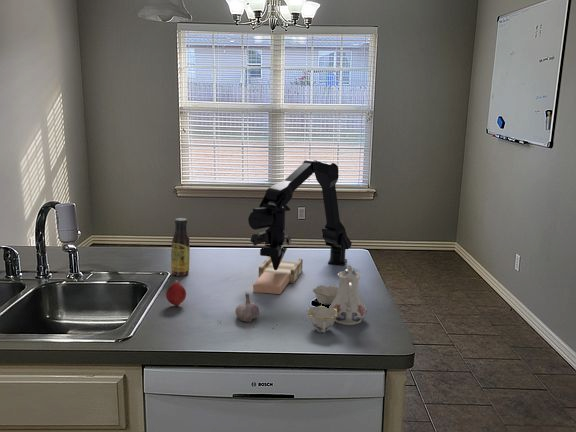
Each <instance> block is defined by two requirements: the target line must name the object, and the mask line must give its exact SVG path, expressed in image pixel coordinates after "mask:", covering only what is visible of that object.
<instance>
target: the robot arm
mask: <svg viewBox="0 0 576 432" xmlns="http://www.w3.org/2000/svg"><path fill="white" fill-rule="evenodd" d="M338 166H339V165H337V164H336V163H334V162H328V161H318V160H316V159H308V158H307V159H305V160H304V161H303V162H302V164H300V166H299V167H297V168H296V169H295V170H294V171H293V172H292V173H290V175H288V176H287V177H286V178H284V180H283V181H281V182H278V183H275V184H273V185H271V186H270V187H268V188H267V189H266V191H265V194H264V196H263V198H262V200H261V202H260V203H259V205H258V207H255V208H254V207H253V208H252V212H250V213H249V216H248V218H247V219H248V220H247V221H248V225H249V226H250V228H251V229H253V230H260V229H265V230H264V231H261V232H256V233H253V234H252V235H251V236H250V243H252V246H254V247H255V246H257V245H259V244H263V243H264V244H265V245H263V247H261V248H260V249H259V256H262V257H269V256H270V257H271V261H272V264H273V268H274V270H277V269H278V267H279V265H280V263H281V261H283V258H284V255H285V254H286V252H287V250H288V248H286V247H284V245H285V244H286V245H287V246H290V245H291V244H292V237H291V236H290V235H288V234H287V235H286V231H287V226H286V217H287V216H286V215H287V214H286V213H287V212H290V210H291V208H290V207H289V206H288V203H290V201H291V200H292V198H293V195H294V192H295V191H296V190H298V188H299V187H300V186H301V185H302V184H303V183H305V182H306V180H308V179H309V178H310V177H311V176H312V175H313V174H314V176H315V179H316V182H318V184H319V186H320V187H321V192H322V198H323V207H324V213H325V221H326V223H325V226H323V228H321V231H322V239H324V243H325V245H326V246H328V247H330V250H329V251H330V253H329V254H330V255H329V256H330V257H329V260H328V262H327V264H328V265H329V264H330V265H340V266H341V265H342V266H345V265H346V264H347V261H348V259H347V258H346V250H349V249H351V247H352V240H350V238H349V237H348V235H347V234H348V233H347V231H346V228H345V226H344V224H343V223H342V222H341V219H340V212H339V205H338V197H337V188H336V185H337V182H338V180H339V167H338Z"/></svg>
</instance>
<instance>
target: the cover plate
mask: <svg viewBox="0 0 576 432" xmlns="http://www.w3.org/2000/svg"><path fill="white" fill-rule="evenodd" d="M289 281H290V275H289V274H285V273H271V272H264V273H263V274H262V275H261V276H260V277H259V276H258V277H257V279H256V281H254V283H253V284H252V289H253V290H252V292H253V293H262V294H263V293H264V294H272V295H273V294H274V295H281V294H282V293H283V291H284V289H285V288H286V287H287V285H288V284H289V283H288V282H289Z"/></svg>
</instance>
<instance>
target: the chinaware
mask: <svg viewBox="0 0 576 432" xmlns="http://www.w3.org/2000/svg"><path fill="white" fill-rule="evenodd" d="M337 275H338V279H339V281H338V282H339V283H338V287H337V286H335V285H329V286H327V285H317V286H316V288H313V289H312V292H314V294H315V297H316V301H317V302H318V303H319V304H320V303H321V304H320V305H317V306H315V307H309V308H307V311H306V312H307V316H308V317H309V322H310V323H311V324H312V326H313V327H314V328H315V331H317V332H318V333H327V332H328V331H329V329H330V328H331V327H332V326H333V325H334V324H335V323H337V324H339V325H344V326H353V325H354V326H355V325H358V324H361V323H362V321H363V317H364V316H365V315H366V314H367V313H368V308H367V306H366V305H365V303H364V302H363V299H362V297H361V293H360V288H359V287H360V285H359V284H360V283H359V282H360V280H361V277H362V274H361V272H360V273H359V272H356V271H355V269H353V267H352V265H350V264H348V266H346V268H345V269H344V270H343V271H339V272H338V273H337ZM322 304H324V305H328V304H331V305H330V306H329V308H327V307H325V306H322Z"/></svg>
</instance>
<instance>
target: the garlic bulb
mask: <svg viewBox="0 0 576 432" xmlns="http://www.w3.org/2000/svg"><path fill="white" fill-rule="evenodd" d="M244 294H245V303H240V304H238V305H237V306H236V307H235V315H236V317H237V318H238V319H239V320H240V321H243V322H245V323H251V322H252V321H253V320H255V318H257V317H258V316H259V315H260V309H259V305H258V304H257V303H255V302H251V300H250V293H249V292H245V293H244Z"/></svg>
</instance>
